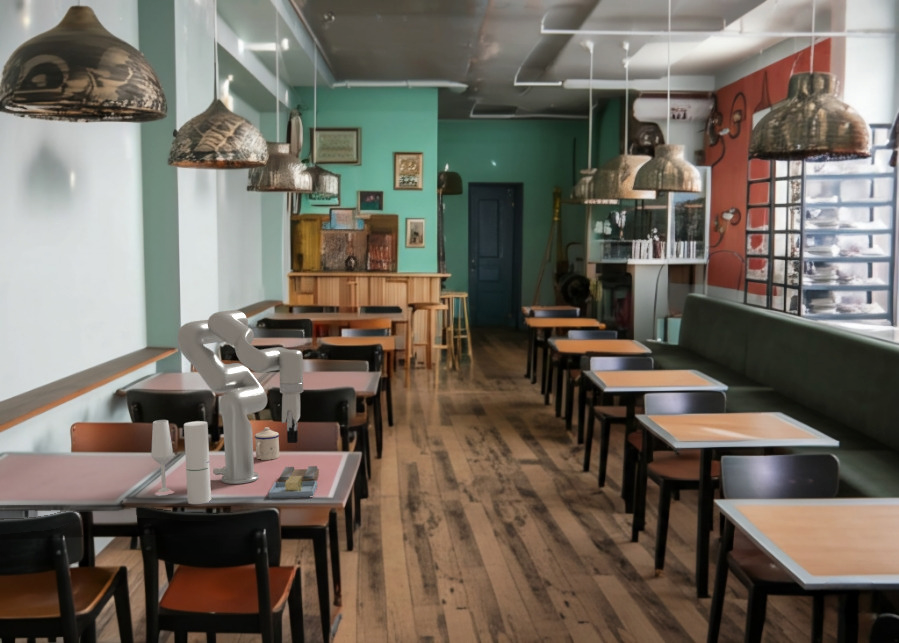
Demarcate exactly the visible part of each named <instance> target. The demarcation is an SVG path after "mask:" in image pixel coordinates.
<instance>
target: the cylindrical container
mask: <svg viewBox="0 0 899 643" xmlns="http://www.w3.org/2000/svg"><path fill="white" fill-rule="evenodd" d="M208 424H209V423H208V422H207V421H204V420H203V421H202V420H201V421H200V420H196V421H188V422H185V423H184V424H183V430H184V431H183V433H184V434H183V435H184V451H185V452H184V455H185V473H186V487H187V488H186V489H187V490H186V491H187V494H186V495H187V503H188V504H190V505H203V504H207V503H209V501H210V500H211V501H212V491H211V490H212V489H211V469H210V468H211V467H210V450H209V446H210V445H209V429H208V428H209V426H208ZM211 501H210V502H211Z"/></svg>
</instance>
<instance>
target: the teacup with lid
mask: <svg viewBox="0 0 899 643" xmlns="http://www.w3.org/2000/svg"><path fill="white" fill-rule="evenodd" d="M279 436H280V434H279V432H277V431H274V430H272V429H270V427H269V426H267V427H264V428H263V430H261V431H259V432H257V433H256V434H254V438H255V457H256V459H257V460H258V459H261V460H260V461H272V460H271V459H273V460H276V459H278V458H280V443H279V439H280V438H279Z"/></svg>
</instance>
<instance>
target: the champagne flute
mask: <svg viewBox="0 0 899 643" xmlns="http://www.w3.org/2000/svg"><path fill="white" fill-rule="evenodd" d="M151 434H152V437H151V438H152V439H151V458H152V459H153V460H154V461H155V462H156V463H157V464H158V465H160V470H161V471H160V472H161V473H160V474H161V488H159V489H158V490H157V491H159V492H166V491H169V490H170V488H168V487H167V484H166V467H165V465H166V464H167V463H168V462H169V461H170V460H171V459H172V457H173V455H174V450H173V445H172V438H171V432H170V425H169V420H167V419H159V420H154V421H153V422H152V433H151Z"/></svg>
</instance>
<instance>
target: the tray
mask: <svg viewBox="0 0 899 643" xmlns="http://www.w3.org/2000/svg"><path fill="white" fill-rule="evenodd" d="M316 488H318V480H317V481H302V490H301V491H286V488H285V482H278V481H275V482H274V483H273V485H272V487H271V488H270V490H269V491H268V499H269V498H270V499H294V498H295V499H298V498H299V497H304V498H311V497H310V496H313V495H314V496H315V494H314V493H316V491H317V489H316ZM315 490H316V491H315ZM314 496H313V497H314Z"/></svg>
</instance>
